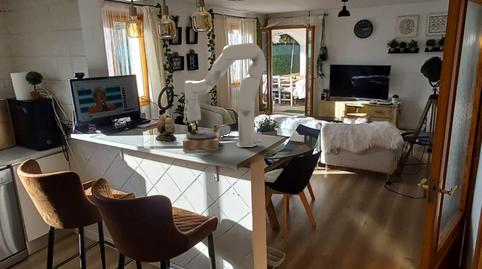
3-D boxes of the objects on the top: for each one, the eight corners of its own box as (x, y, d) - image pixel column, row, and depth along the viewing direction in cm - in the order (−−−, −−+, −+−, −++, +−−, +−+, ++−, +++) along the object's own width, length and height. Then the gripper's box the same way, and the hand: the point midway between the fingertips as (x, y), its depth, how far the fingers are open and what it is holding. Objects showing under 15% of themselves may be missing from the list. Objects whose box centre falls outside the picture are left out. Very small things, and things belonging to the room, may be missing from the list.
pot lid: (222, 134, 211) (222, 124, 210) (203, 140, 197) (202, 129, 195) (200, 131, 221) (199, 121, 220) (180, 137, 207) (179, 126, 205)
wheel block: (218, 142, 220) (218, 132, 219) (217, 150, 201) (217, 140, 200) (187, 142, 220) (186, 133, 219) (183, 151, 200) (182, 140, 199)
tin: (228, 134, 241) (227, 122, 239) (231, 135, 239) (231, 123, 237) (213, 138, 229) (212, 126, 228) (216, 139, 227) (216, 127, 226)
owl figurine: (182, 139, 228) (180, 114, 225) (167, 143, 220) (165, 116, 216) (166, 135, 240) (164, 111, 237) (151, 139, 232) (149, 113, 228)
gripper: (185, 103, 200) (186, 134, 204) (205, 100, 212) (206, 130, 216) (176, 102, 204) (178, 133, 208) (197, 99, 217) (198, 128, 221)
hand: (192, 131), depth 212 cm, fingers closed on pot lid, 4 cm apart
